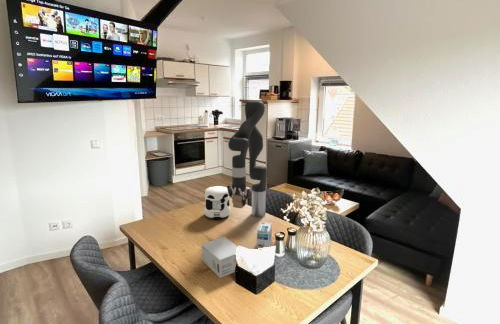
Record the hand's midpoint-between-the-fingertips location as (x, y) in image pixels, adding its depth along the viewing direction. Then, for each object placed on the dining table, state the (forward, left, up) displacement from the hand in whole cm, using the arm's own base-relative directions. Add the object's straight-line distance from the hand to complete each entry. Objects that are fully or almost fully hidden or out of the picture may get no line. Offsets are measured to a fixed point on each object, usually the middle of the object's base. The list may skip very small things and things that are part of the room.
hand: (239, 204), depth 159 cm
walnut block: (0, 0, -1) cm, 1 cm away
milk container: (-21, -26, -20) cm, 39 cm away
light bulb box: (+2, +16, -20) cm, 26 cm away
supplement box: (+27, +4, -20) cm, 34 cm away
